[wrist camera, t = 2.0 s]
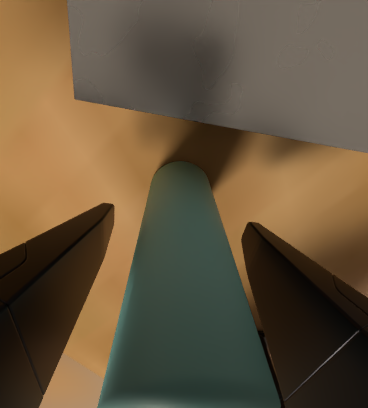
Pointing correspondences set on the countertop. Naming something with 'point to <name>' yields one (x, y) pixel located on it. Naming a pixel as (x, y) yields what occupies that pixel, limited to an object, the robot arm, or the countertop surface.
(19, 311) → the robot arm
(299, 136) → the socket
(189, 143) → the countertop surface
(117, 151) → the countertop surface
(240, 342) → the long peg
